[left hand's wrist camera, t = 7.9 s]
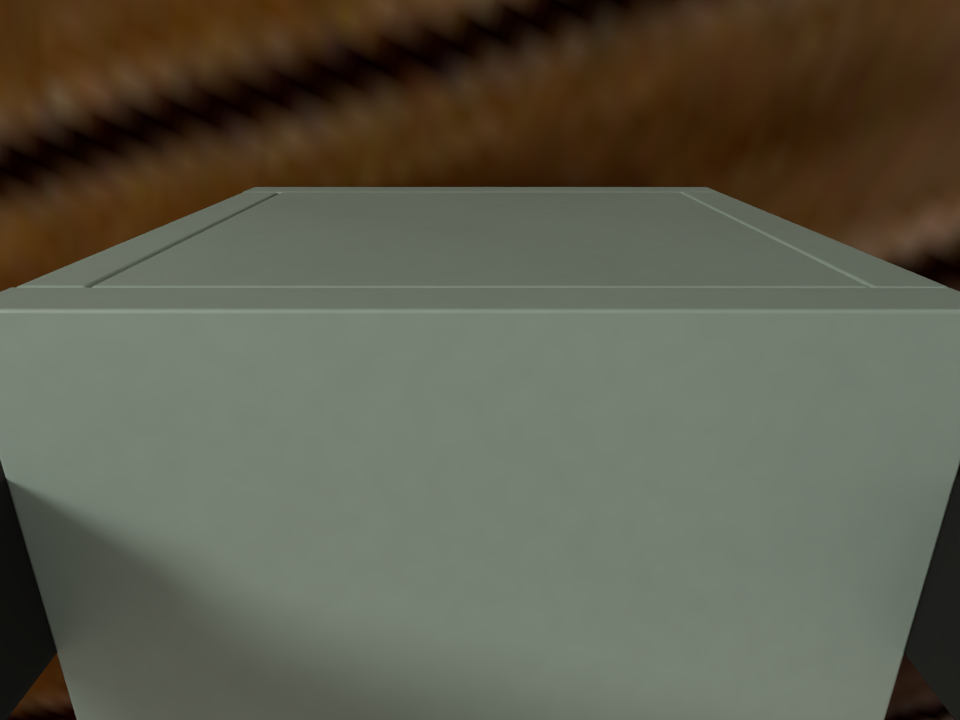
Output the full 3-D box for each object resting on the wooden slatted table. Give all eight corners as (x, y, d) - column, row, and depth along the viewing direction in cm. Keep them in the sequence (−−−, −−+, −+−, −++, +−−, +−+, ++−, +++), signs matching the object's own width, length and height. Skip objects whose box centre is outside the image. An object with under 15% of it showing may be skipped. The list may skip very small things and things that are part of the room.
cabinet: (637, 775, 25) (739, 1216, 15) (323, 774, 25) (221, 1215, 15) (707, 187, 17) (1008, 309, 7) (253, 186, 17) (-47, 309, 7)
